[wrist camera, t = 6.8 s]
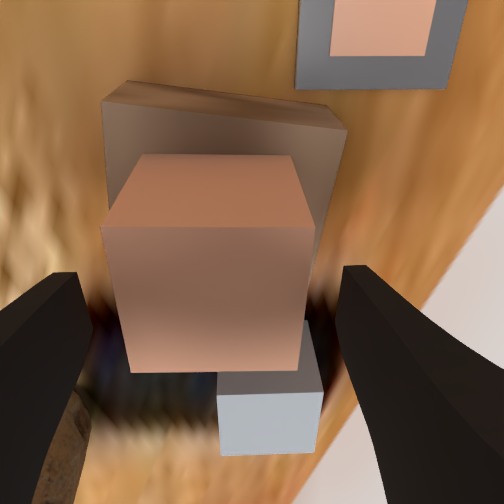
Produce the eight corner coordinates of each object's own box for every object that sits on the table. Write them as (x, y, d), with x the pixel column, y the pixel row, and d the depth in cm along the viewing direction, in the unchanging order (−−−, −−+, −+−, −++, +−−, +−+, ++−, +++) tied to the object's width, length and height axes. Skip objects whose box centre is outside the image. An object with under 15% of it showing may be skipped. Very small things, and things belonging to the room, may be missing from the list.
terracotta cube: (158, 273, 16) (131, 372, 12) (142, 153, 13) (99, 227, 9) (281, 273, 16) (297, 370, 12) (290, 155, 13) (315, 227, 9)
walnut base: (135, 248, 20) (115, 299, 17) (129, 78, 16) (101, 101, 12) (290, 261, 21) (301, 311, 17) (324, 103, 16) (348, 130, 13)
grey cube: (223, 379, 25) (220, 456, 21) (219, 321, 22) (216, 395, 18) (300, 377, 25) (313, 452, 21) (306, 319, 23) (323, 392, 18)
